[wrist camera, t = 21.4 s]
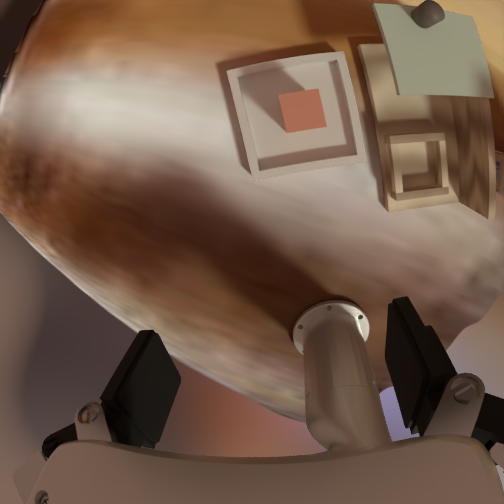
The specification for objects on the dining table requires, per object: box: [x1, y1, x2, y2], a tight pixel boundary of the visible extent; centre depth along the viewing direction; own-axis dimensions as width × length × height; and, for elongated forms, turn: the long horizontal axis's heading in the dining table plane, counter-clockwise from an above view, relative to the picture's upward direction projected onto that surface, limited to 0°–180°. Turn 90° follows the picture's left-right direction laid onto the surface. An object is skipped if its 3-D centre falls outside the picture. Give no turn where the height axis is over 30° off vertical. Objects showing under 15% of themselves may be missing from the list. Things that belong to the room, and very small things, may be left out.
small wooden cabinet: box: [357, 44, 496, 219], centre depth 26 cm, size 22×13×9 cm, turn 13°
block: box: [278, 89, 327, 133], centre depth 28 cm, size 4×4×7 cm
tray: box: [227, 51, 366, 181], centre depth 31 cm, size 14×14×2 cm
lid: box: [372, 0, 494, 98], centre depth 17 cm, size 10×13×4 cm
